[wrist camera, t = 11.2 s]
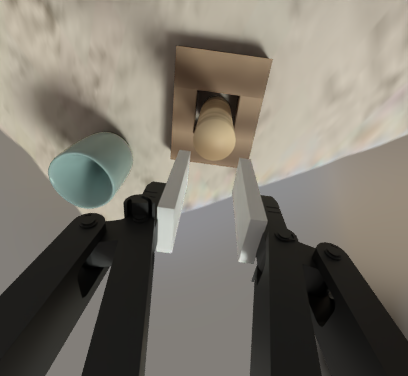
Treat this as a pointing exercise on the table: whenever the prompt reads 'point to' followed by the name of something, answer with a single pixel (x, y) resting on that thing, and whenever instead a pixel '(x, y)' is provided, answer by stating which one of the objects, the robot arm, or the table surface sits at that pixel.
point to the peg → (214, 130)
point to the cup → (91, 169)
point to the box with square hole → (220, 83)
